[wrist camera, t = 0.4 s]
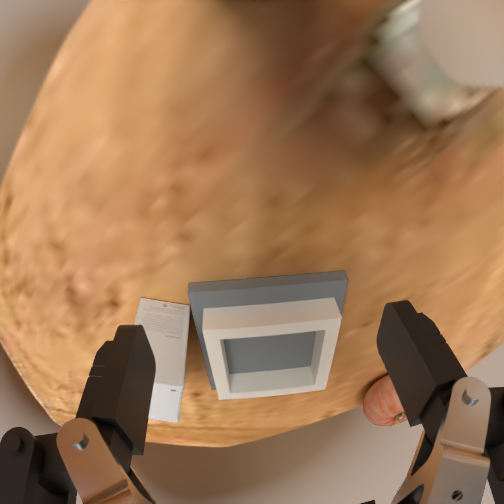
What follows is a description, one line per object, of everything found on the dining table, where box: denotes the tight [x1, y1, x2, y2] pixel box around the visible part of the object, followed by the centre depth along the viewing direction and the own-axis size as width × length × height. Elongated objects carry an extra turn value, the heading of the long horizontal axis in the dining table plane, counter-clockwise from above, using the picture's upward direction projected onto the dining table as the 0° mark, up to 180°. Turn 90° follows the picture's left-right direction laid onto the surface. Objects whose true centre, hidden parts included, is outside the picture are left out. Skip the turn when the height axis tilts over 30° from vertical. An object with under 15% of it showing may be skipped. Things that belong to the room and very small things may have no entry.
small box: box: [134, 298, 190, 423], centre depth 31 cm, size 8×6×10 cm
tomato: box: [363, 375, 407, 426], centre depth 44 cm, size 11×11×8 cm
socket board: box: [188, 270, 348, 400], centre depth 36 cm, size 18×16×4 cm
